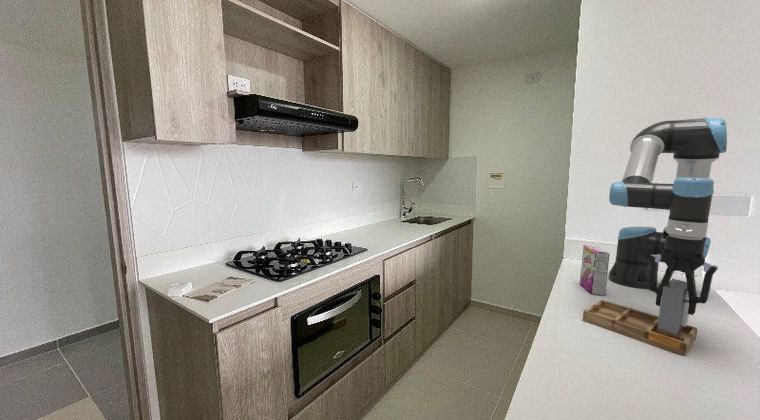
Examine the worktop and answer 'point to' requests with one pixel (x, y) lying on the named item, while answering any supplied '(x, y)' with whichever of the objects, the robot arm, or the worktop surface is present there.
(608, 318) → the bay rack
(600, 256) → the candy bar box
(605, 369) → the worktop surface
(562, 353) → the worktop surface
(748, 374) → the worktop surface
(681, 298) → the panel
